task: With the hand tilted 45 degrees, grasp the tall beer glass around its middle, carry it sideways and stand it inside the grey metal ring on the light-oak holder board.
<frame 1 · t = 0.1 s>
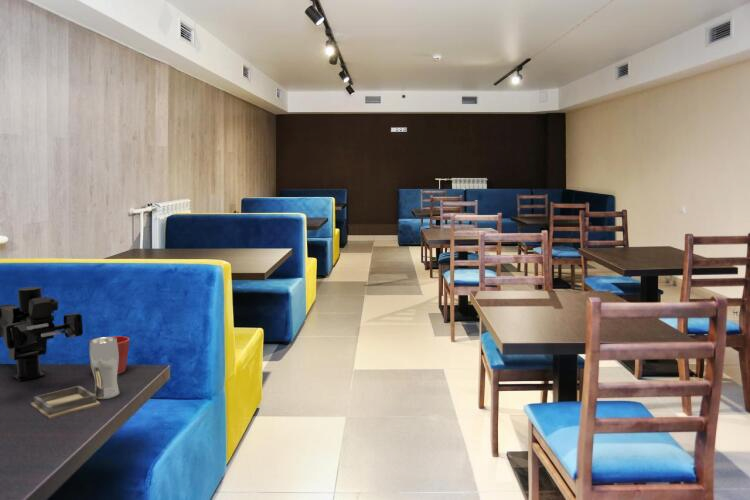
hand: (55, 335, 155), 17 cm above the table, tool horizontal, fingers open, 9 cm apart
oak holder: (65, 404, 152), on the table
beer glass: (107, 395, 158), on the table
flower pot: (111, 372, 178), on the table
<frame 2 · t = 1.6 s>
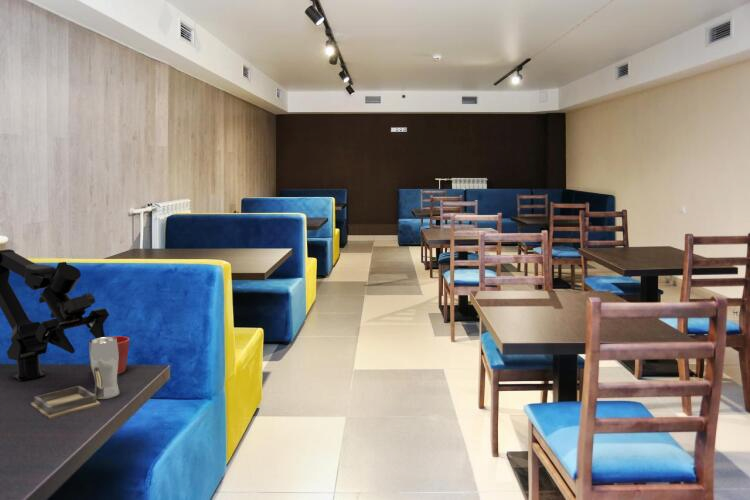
hand: (89, 348, 160), 12 cm above the table, tool tilted 45°, fingers open, 9 cm apart
nothing on the table moved.
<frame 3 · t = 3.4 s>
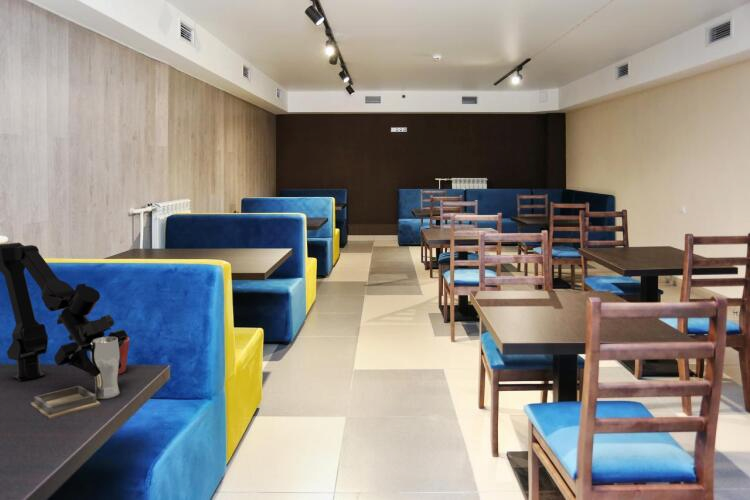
hand: (108, 371, 157), 7 cm above the table, tool tilted 45°, fingers closed on beer glass, 6 cm apart
beer glass: (107, 395, 158), on the table, touching gripper
everything else where it was.
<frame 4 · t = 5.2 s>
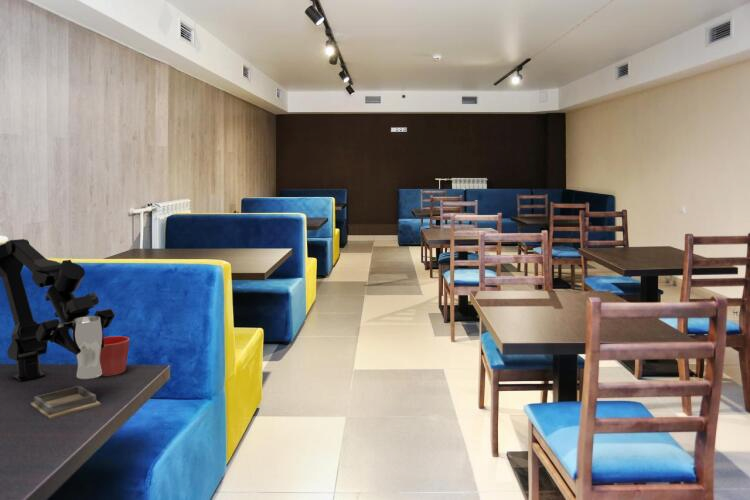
hand: (90, 350, 153), 13 cm above the table, tool tilted 45°, fingers closed on beer glass, 6 cm apart
beer glass: (89, 375, 155), point 6 cm above the table, touching gripper
everything else where it was.
when the fingers open (8 cm above the table, at t = 7.0 s): beer glass stays where it is, resting on oak holder.
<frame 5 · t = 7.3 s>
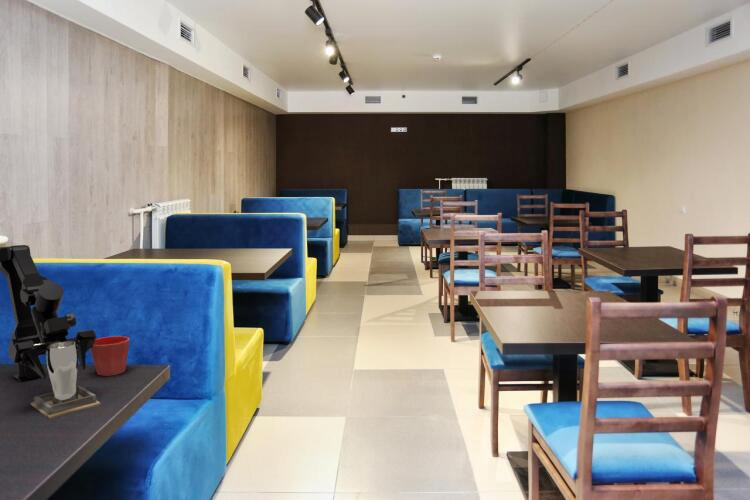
hand: (64, 373, 150), 9 cm above the table, tool tilted 45°, fingers open, 9 cm apart
beer glass: (65, 402, 152), resting on oak holder
everything else where it was.
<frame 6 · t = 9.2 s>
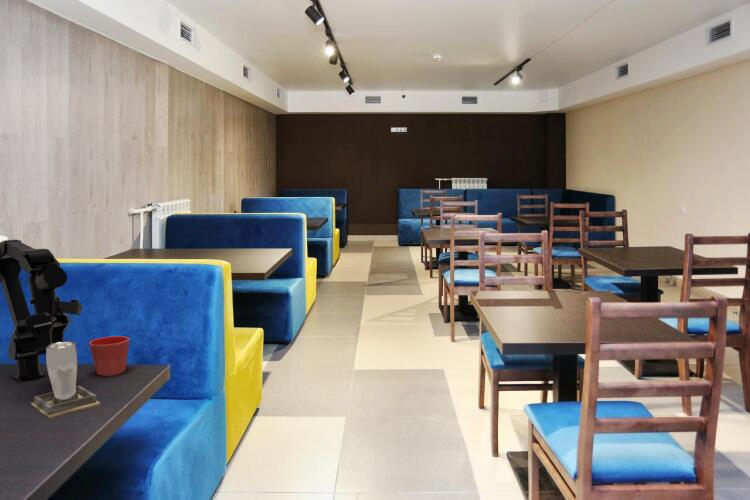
hand: (55, 351, 160), 11 cm above the table, tool tilted 15°, fingers open, 9 cm apart
nothing on the table moved.
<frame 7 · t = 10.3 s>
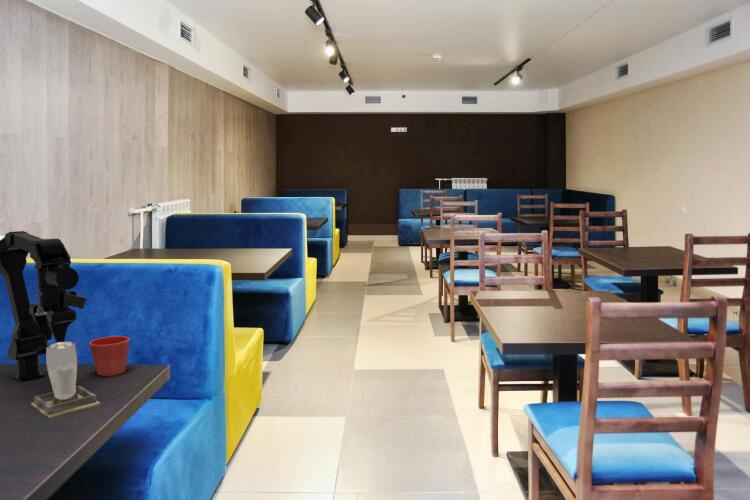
hand: (54, 342, 162), 13 cm above the table, tool pointing down, fingers open, 9 cm apart
nothing on the table moved.
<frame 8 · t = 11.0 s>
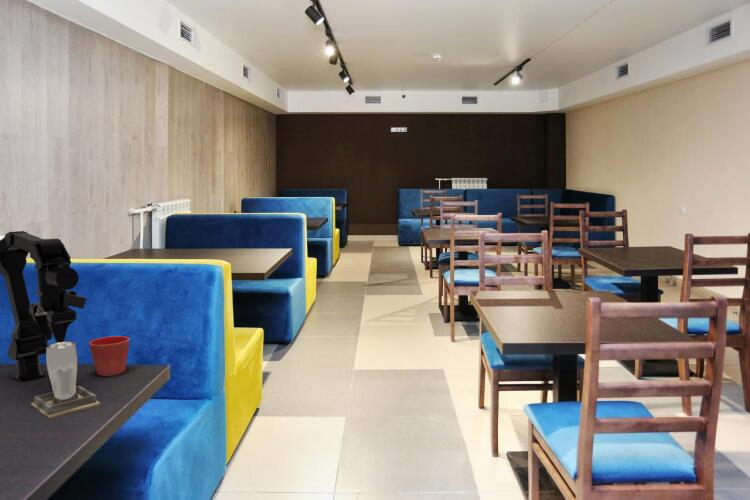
hand: (54, 342, 162), 13 cm above the table, tool pointing down, fingers open, 9 cm apart
nothing on the table moved.
at the end: beer glass 0.4 cm from the oak holder (horizontally); beer glass tilted 0°; the gripper is holding nothing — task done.
